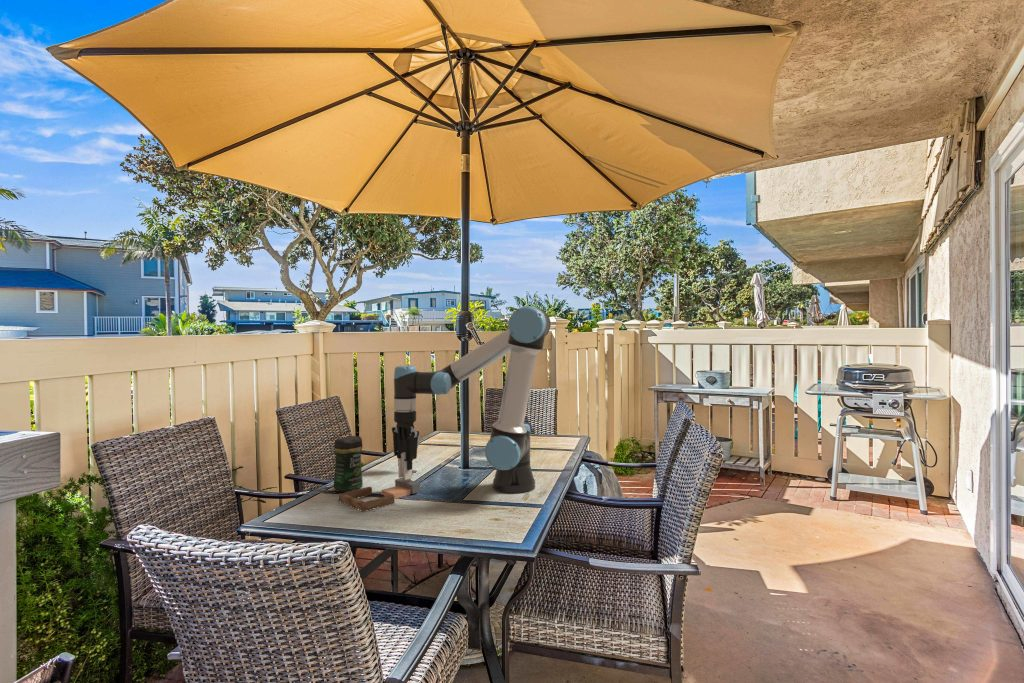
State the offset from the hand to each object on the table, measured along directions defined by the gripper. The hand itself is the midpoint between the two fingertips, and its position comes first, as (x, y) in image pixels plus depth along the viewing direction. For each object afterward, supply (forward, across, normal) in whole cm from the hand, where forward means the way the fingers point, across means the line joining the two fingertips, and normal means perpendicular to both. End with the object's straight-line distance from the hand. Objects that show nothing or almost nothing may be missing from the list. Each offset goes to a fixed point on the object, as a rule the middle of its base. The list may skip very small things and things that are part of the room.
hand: (405, 477), depth 190 cm
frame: (+5, 0, +15) cm, 15 cm away
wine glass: (+5, +21, -16) cm, 27 cm away
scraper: (+4, 0, -1) cm, 5 cm away
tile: (+5, 0, +4) cm, 7 cm away
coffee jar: (+5, +18, +12) cm, 22 cm away
